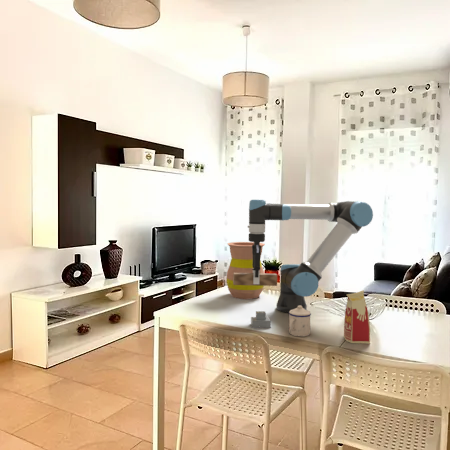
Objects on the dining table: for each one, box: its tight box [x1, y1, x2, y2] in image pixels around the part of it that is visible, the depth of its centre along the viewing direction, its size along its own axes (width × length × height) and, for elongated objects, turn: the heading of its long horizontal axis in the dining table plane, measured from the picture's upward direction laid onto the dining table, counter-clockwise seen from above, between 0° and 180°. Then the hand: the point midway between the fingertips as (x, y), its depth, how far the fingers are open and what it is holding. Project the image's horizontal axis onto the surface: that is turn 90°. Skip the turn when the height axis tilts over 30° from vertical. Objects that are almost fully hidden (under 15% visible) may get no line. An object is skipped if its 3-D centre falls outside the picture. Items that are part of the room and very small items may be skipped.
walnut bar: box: [233, 272, 278, 287], centre depth 201 cm, size 20×4×5 cm, turn 94°
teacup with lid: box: [288, 305, 312, 337], centre depth 178 cm, size 12×9×12 cm
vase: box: [226, 241, 265, 300], centre depth 247 cm, size 22×22×30 cm
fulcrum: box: [250, 310, 272, 329], centre depth 190 cm, size 8×6×6 cm
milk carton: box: [343, 289, 371, 345], centre depth 172 cm, size 9×9×20 cm
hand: (255, 283), depth 201 cm, fingers closed on walnut bar, 4 cm apart
